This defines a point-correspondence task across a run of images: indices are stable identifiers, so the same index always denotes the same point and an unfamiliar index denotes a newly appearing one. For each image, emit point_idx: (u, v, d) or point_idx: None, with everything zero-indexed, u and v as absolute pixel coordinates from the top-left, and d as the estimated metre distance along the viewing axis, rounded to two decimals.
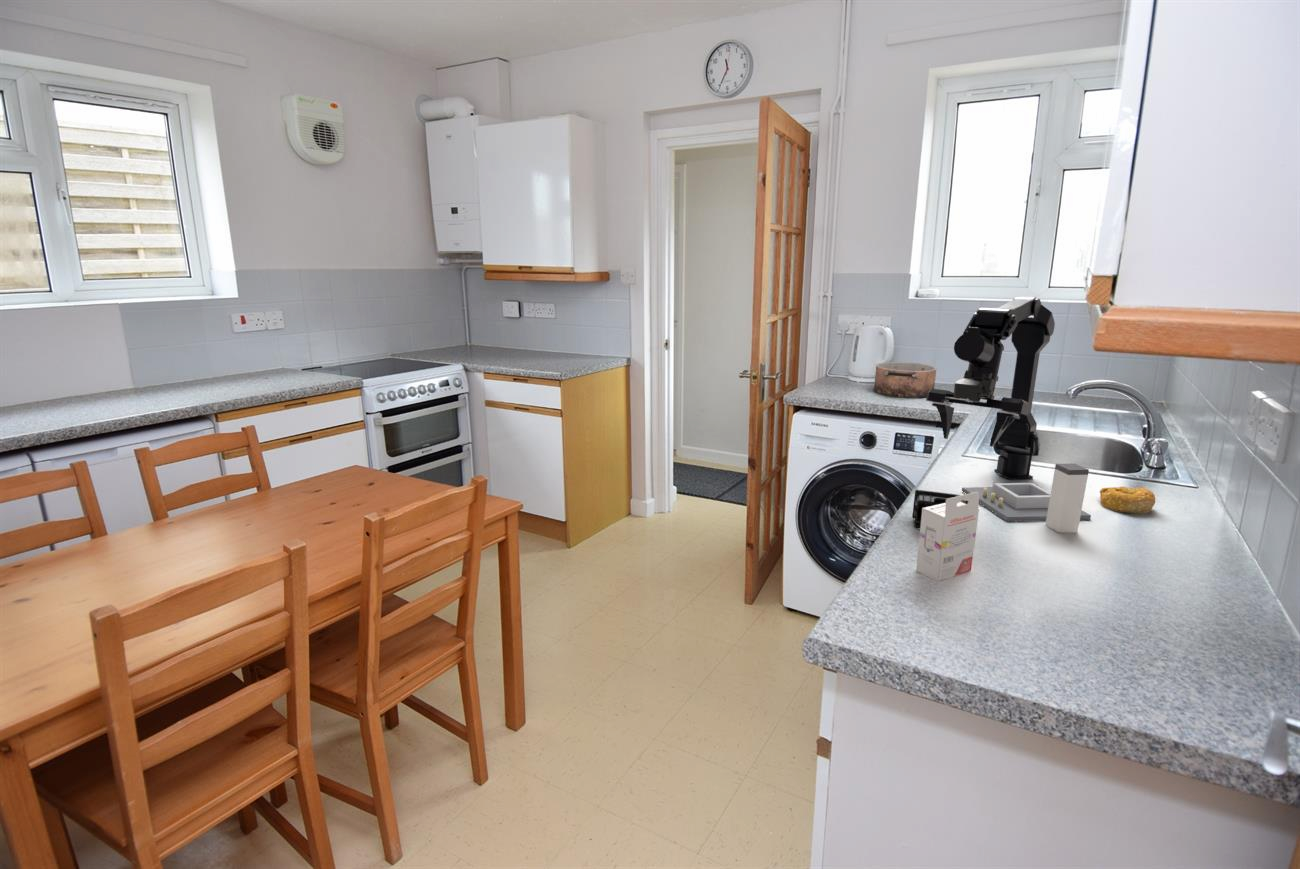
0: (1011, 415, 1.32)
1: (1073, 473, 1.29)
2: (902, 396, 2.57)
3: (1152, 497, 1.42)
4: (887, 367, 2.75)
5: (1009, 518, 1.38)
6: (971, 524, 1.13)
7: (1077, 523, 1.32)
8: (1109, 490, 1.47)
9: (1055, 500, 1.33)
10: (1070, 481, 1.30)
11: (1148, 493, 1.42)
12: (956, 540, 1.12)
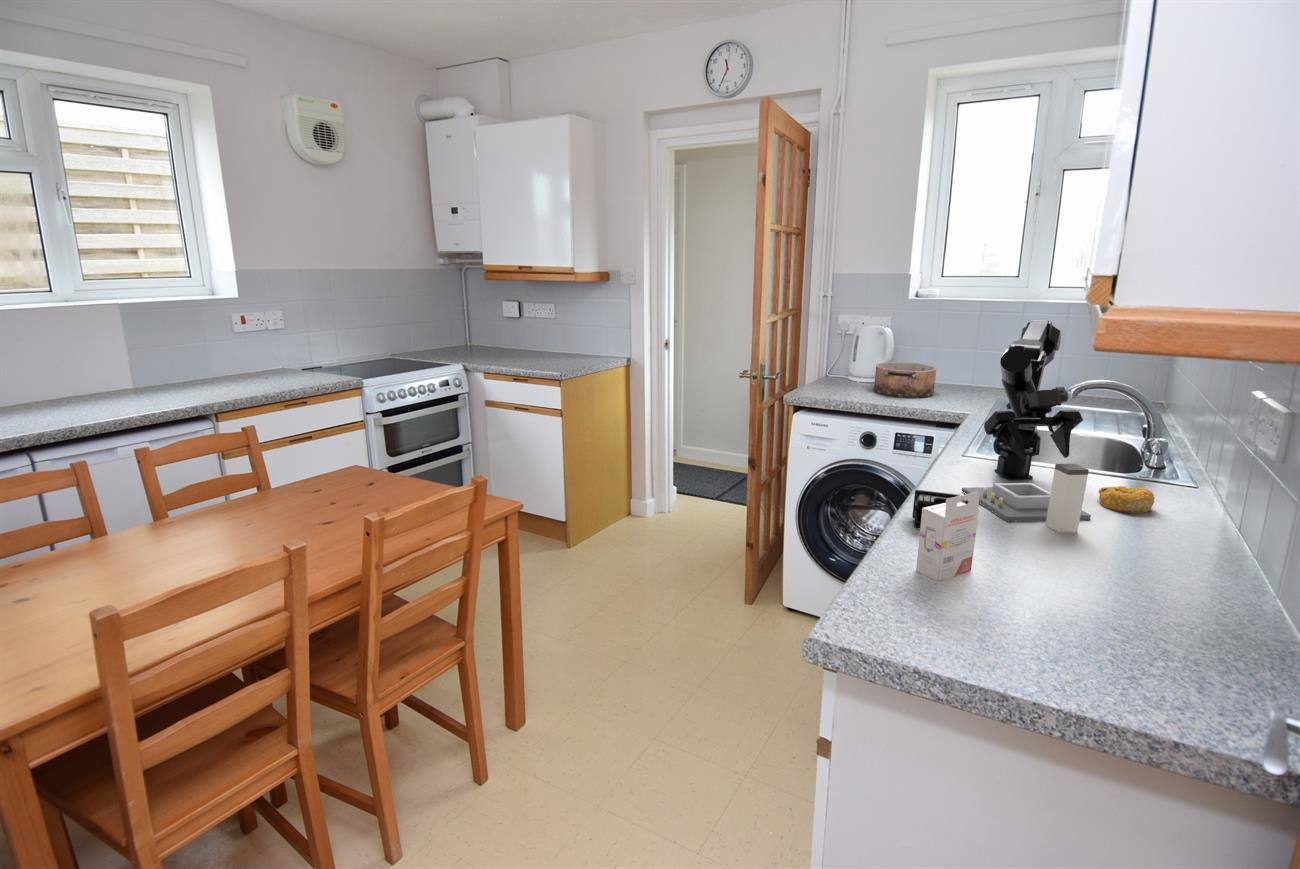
0: (1077, 422, 1.40)
1: (1073, 473, 1.29)
2: (902, 396, 2.57)
3: (1151, 497, 1.42)
4: (887, 367, 2.75)
5: (1009, 518, 1.38)
6: (971, 524, 1.13)
7: (1077, 523, 1.32)
8: (1108, 490, 1.47)
9: (1055, 500, 1.33)
10: (1070, 481, 1.30)
11: (1147, 493, 1.42)
12: (956, 540, 1.12)
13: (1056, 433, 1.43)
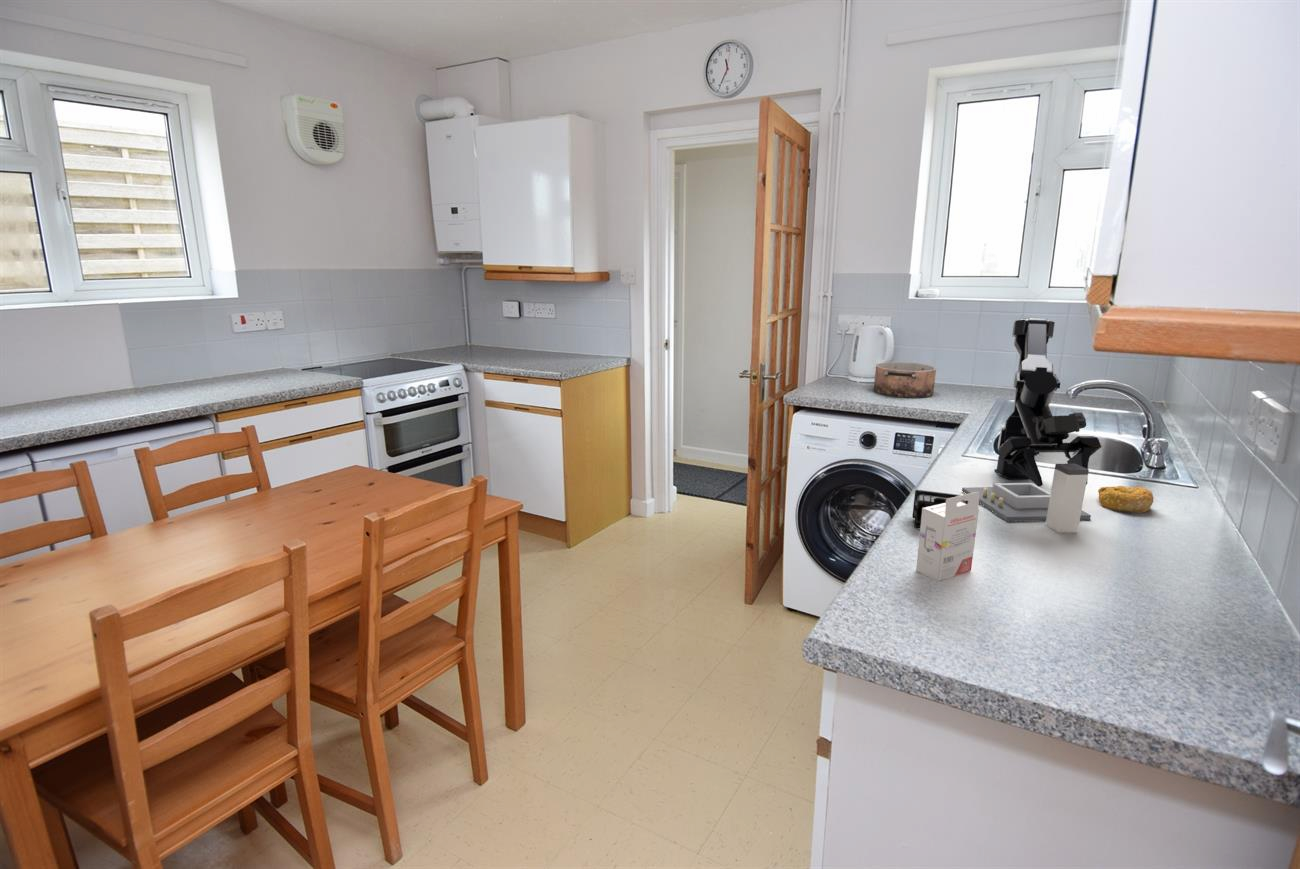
0: (1096, 449, 1.35)
1: (1073, 473, 1.29)
2: (902, 396, 2.57)
3: (1150, 496, 1.42)
4: (887, 367, 2.75)
5: (1009, 518, 1.38)
6: (971, 524, 1.13)
7: (1077, 523, 1.32)
8: (1107, 489, 1.47)
9: (1055, 500, 1.33)
10: (1070, 481, 1.30)
11: (1146, 492, 1.43)
12: (956, 540, 1.12)
13: (1073, 460, 1.38)
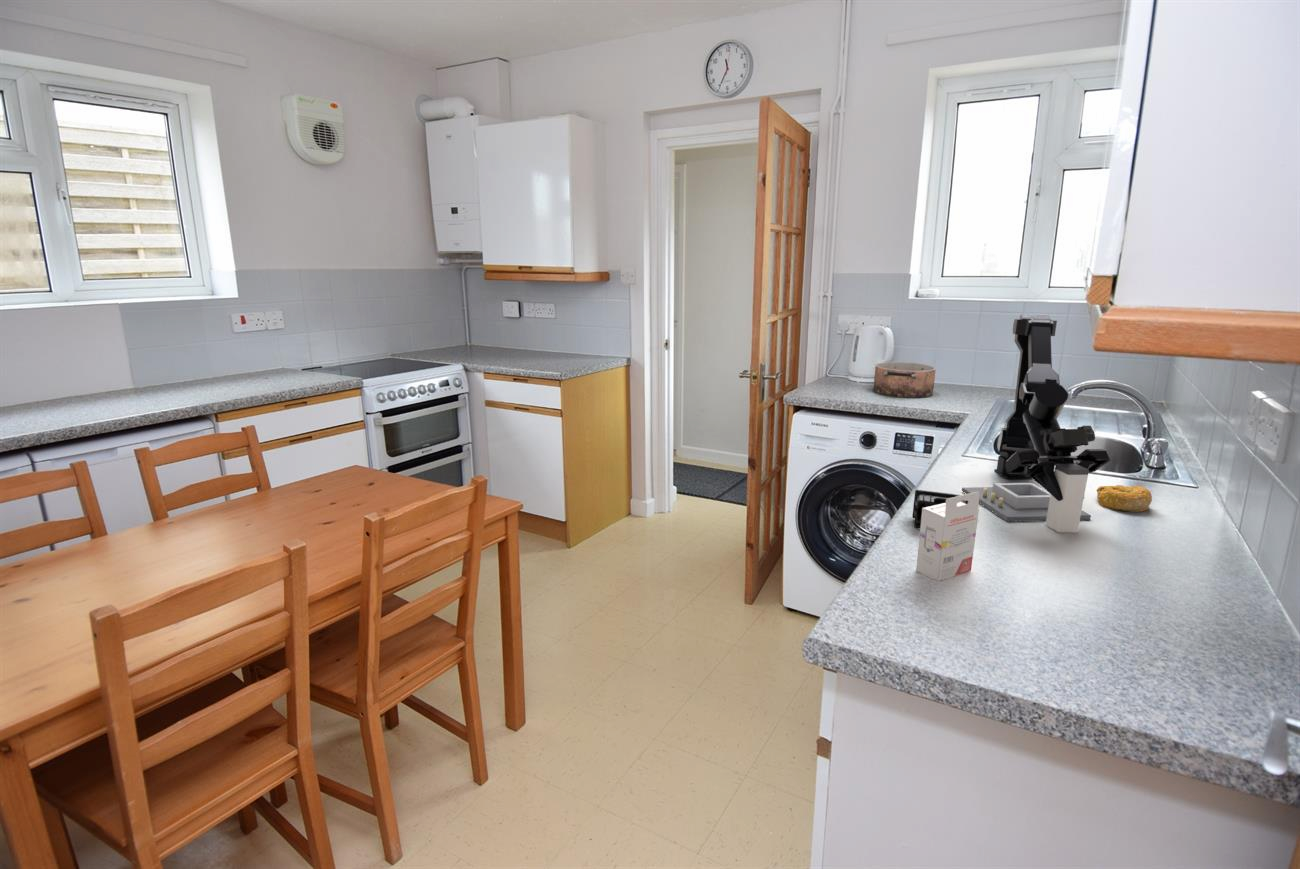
0: (1093, 463, 1.33)
1: (1073, 473, 1.29)
2: (901, 396, 2.57)
3: (1149, 495, 1.43)
4: (886, 367, 2.75)
5: (1009, 518, 1.38)
6: (971, 524, 1.13)
7: (1077, 523, 1.32)
8: (1106, 488, 1.48)
9: (1055, 500, 1.33)
10: (1070, 481, 1.30)
11: (1145, 491, 1.43)
12: (956, 540, 1.12)
13: None
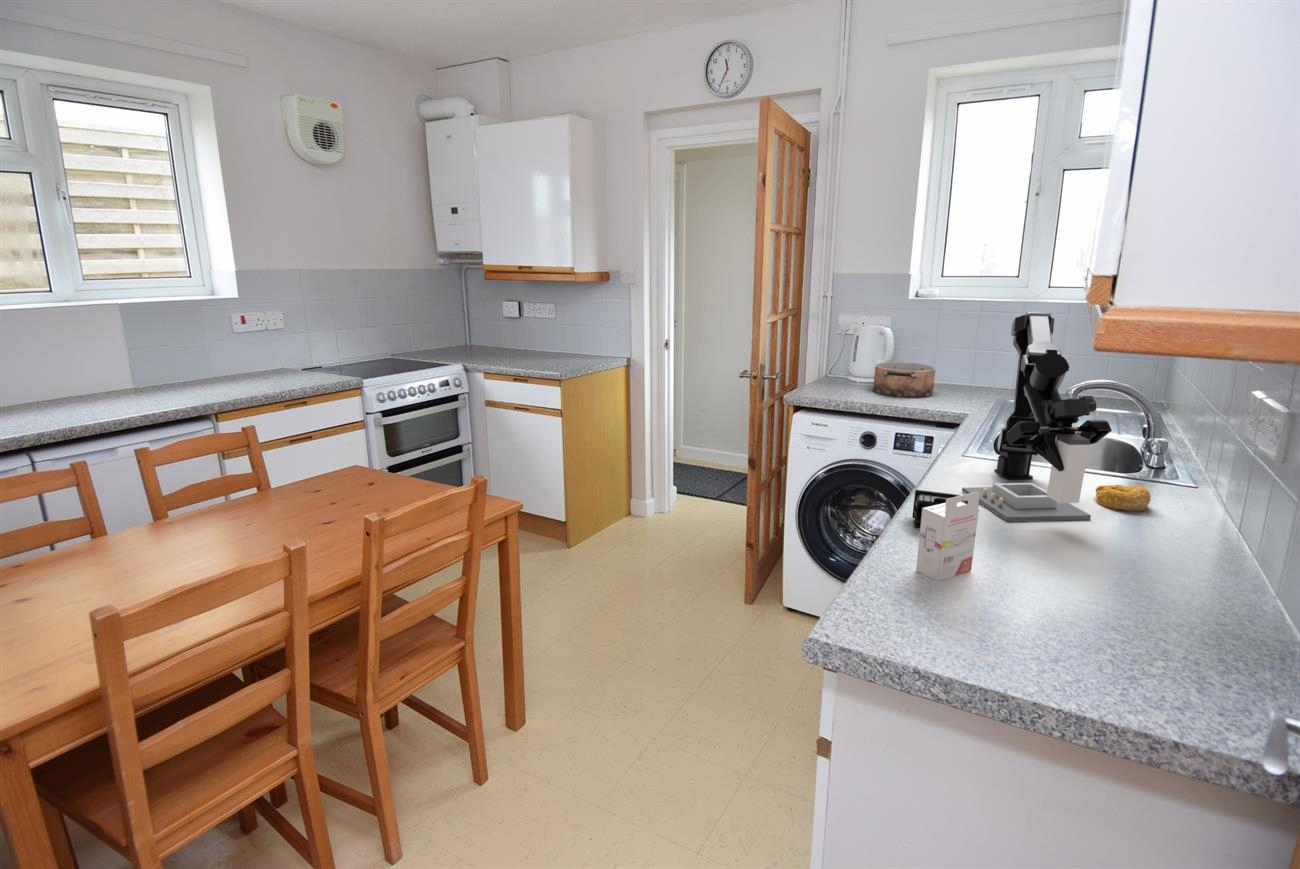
0: (1094, 433, 1.32)
1: (1074, 443, 1.29)
2: (901, 396, 2.58)
3: (1147, 495, 1.43)
4: (886, 367, 2.75)
5: (1009, 518, 1.38)
6: (971, 524, 1.13)
7: (1078, 493, 1.32)
8: (1105, 488, 1.48)
9: (1056, 471, 1.33)
10: (1072, 452, 1.29)
11: (1143, 491, 1.43)
12: (956, 540, 1.12)
13: None
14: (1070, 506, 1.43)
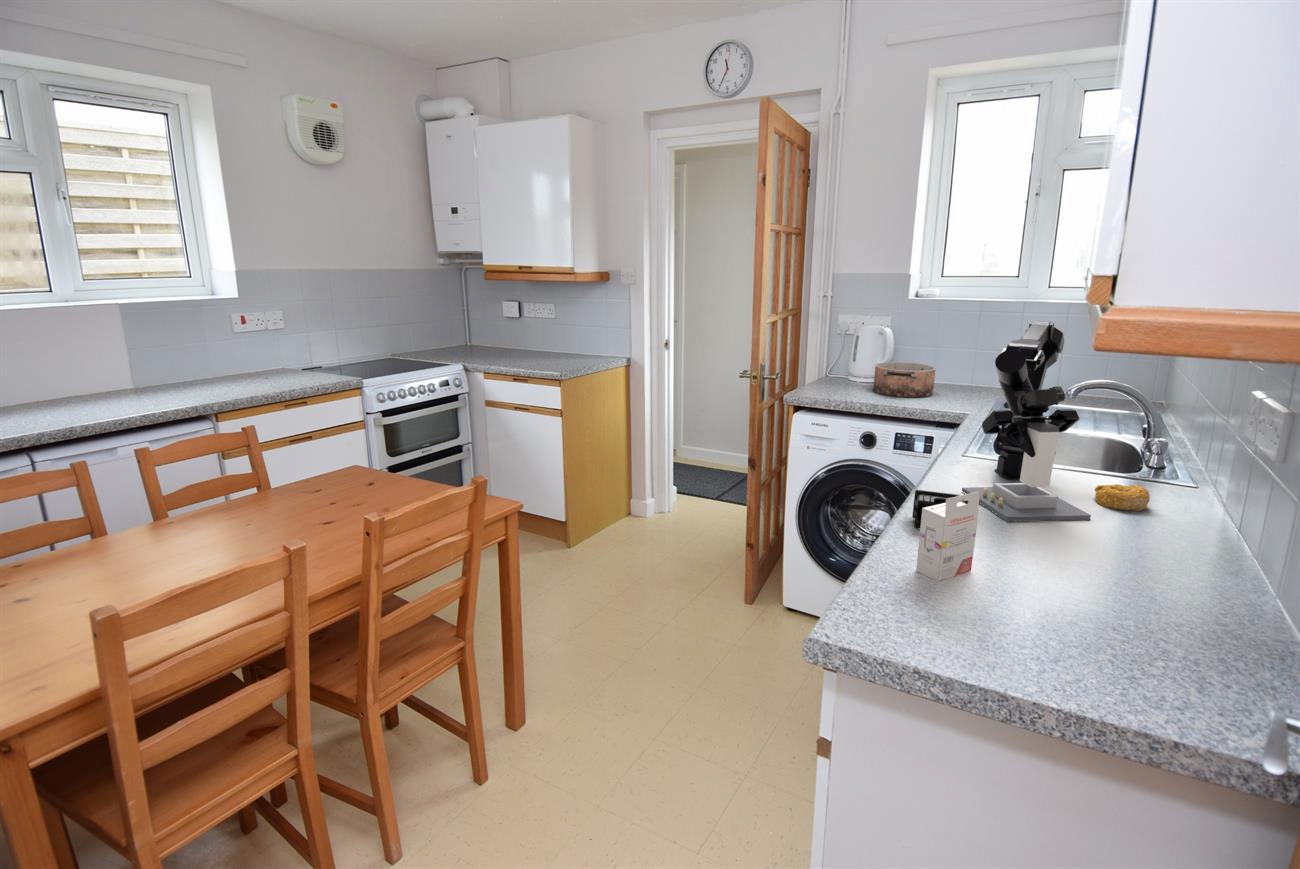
0: (1063, 421, 1.42)
1: (1044, 430, 1.38)
2: (901, 396, 2.58)
3: (1147, 494, 1.43)
4: (886, 367, 2.75)
5: (1009, 518, 1.38)
6: (971, 524, 1.13)
7: (1049, 478, 1.41)
8: (1104, 488, 1.48)
9: (1028, 457, 1.42)
10: (1042, 438, 1.39)
11: (1143, 490, 1.44)
12: (956, 540, 1.12)
13: None
14: (1070, 506, 1.43)
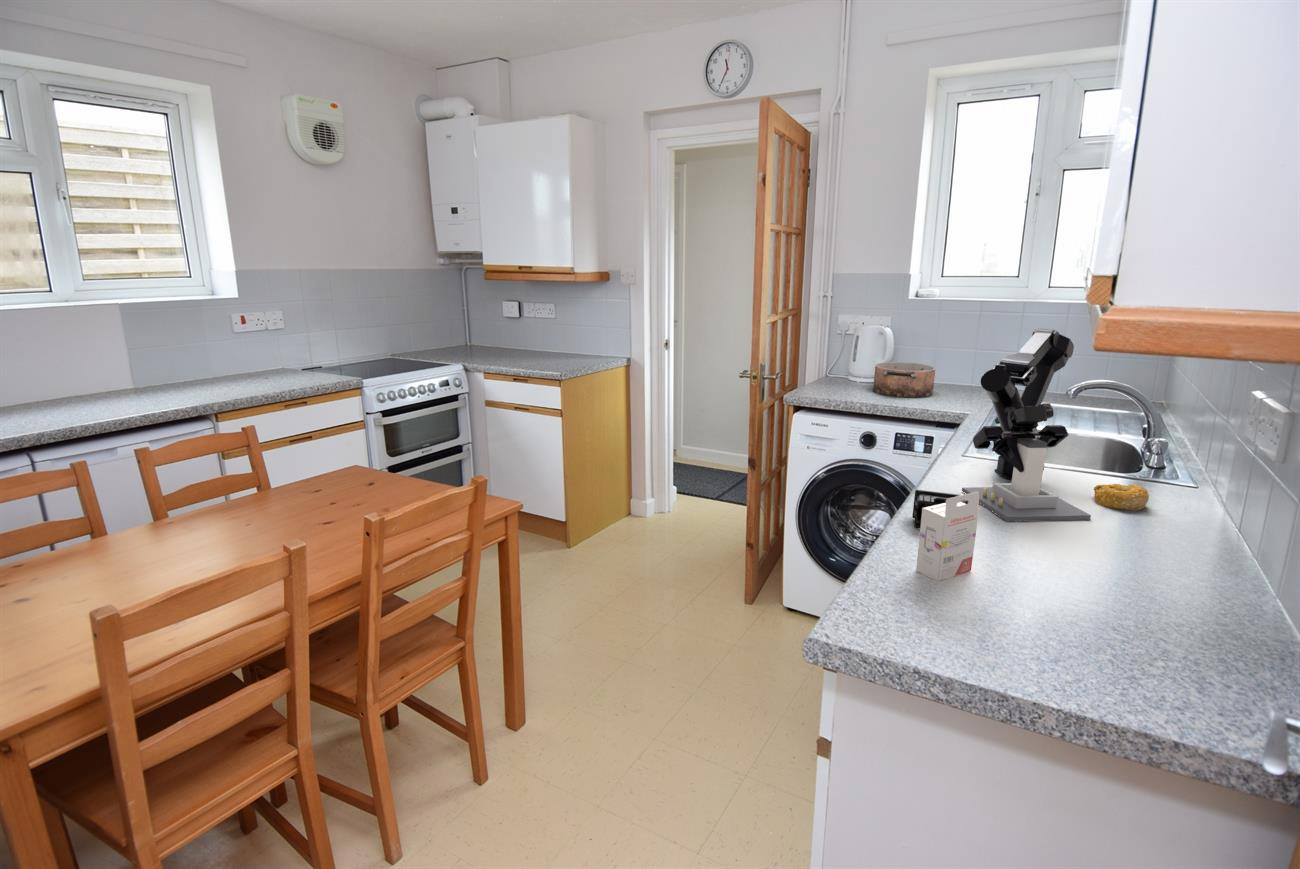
0: (1052, 437, 1.45)
1: (1033, 446, 1.41)
2: (901, 396, 2.58)
3: (1145, 494, 1.44)
4: (886, 367, 2.75)
5: (1009, 518, 1.38)
6: (971, 524, 1.13)
7: (1038, 492, 1.44)
8: (1103, 487, 1.48)
9: (1017, 471, 1.45)
10: (1031, 454, 1.42)
11: (1142, 490, 1.44)
12: (957, 540, 1.12)
13: None
14: (1070, 506, 1.43)
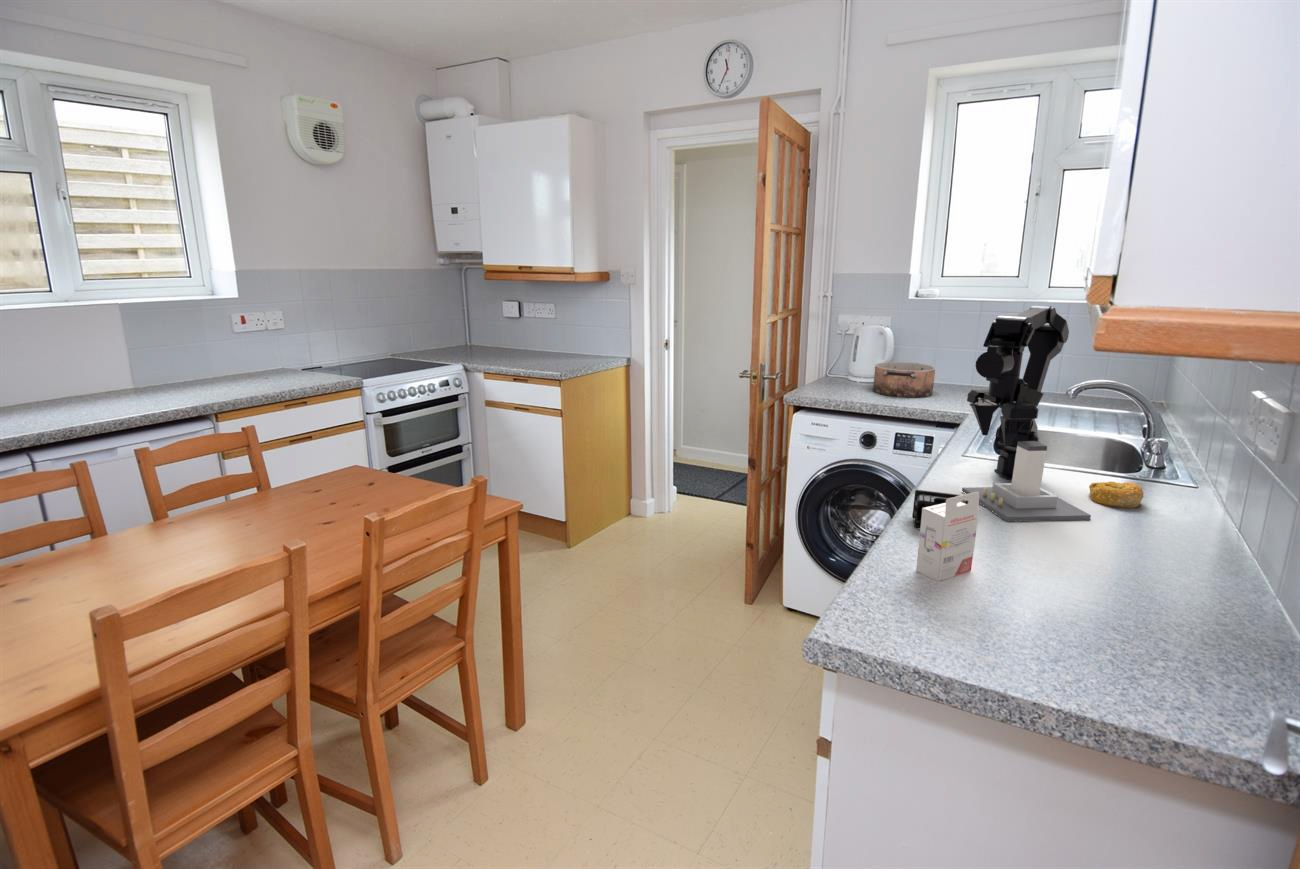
0: None
1: (1033, 449, 1.42)
2: (901, 396, 2.58)
3: (1140, 491, 1.45)
4: (886, 367, 2.75)
5: (1009, 518, 1.38)
6: (971, 524, 1.13)
7: None
8: (1099, 485, 1.50)
9: (1017, 474, 1.45)
10: (1030, 457, 1.42)
11: (1136, 487, 1.45)
12: (957, 540, 1.12)
13: (983, 409, 1.57)
14: (1070, 506, 1.43)
